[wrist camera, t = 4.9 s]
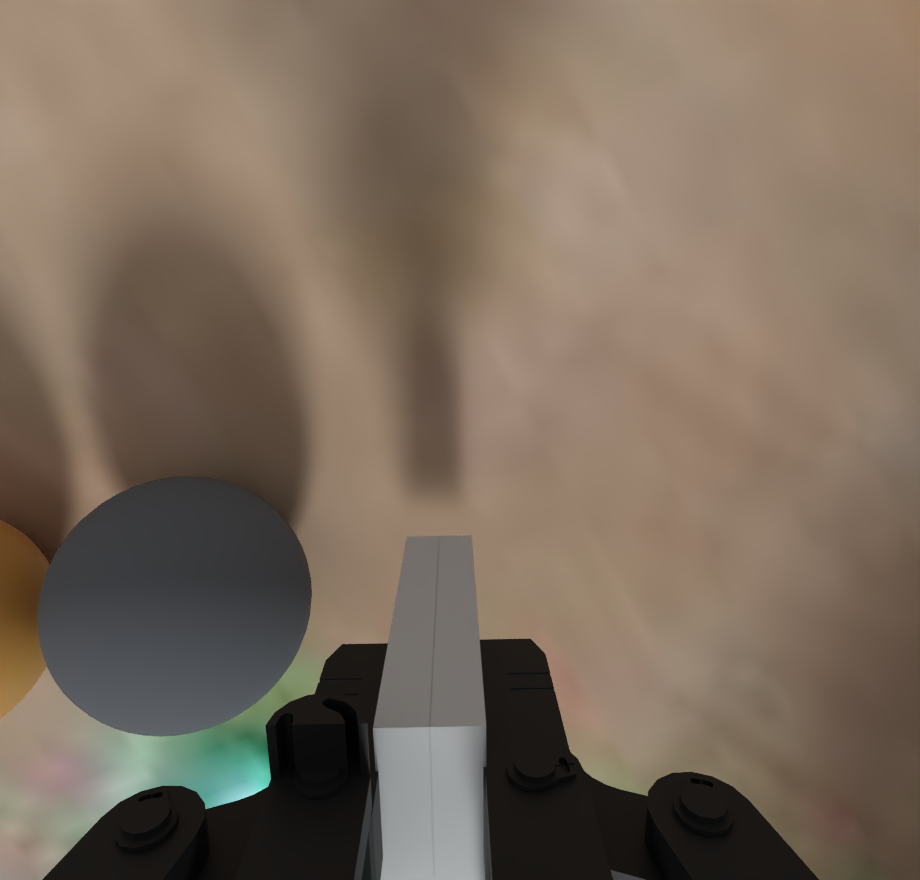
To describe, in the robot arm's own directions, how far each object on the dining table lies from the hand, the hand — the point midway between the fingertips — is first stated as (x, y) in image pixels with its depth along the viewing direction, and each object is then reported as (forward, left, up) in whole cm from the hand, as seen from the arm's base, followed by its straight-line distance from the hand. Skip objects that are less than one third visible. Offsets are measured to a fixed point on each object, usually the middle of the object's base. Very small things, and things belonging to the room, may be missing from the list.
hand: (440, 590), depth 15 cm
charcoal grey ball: (+6, 0, +1) cm, 6 cm away
